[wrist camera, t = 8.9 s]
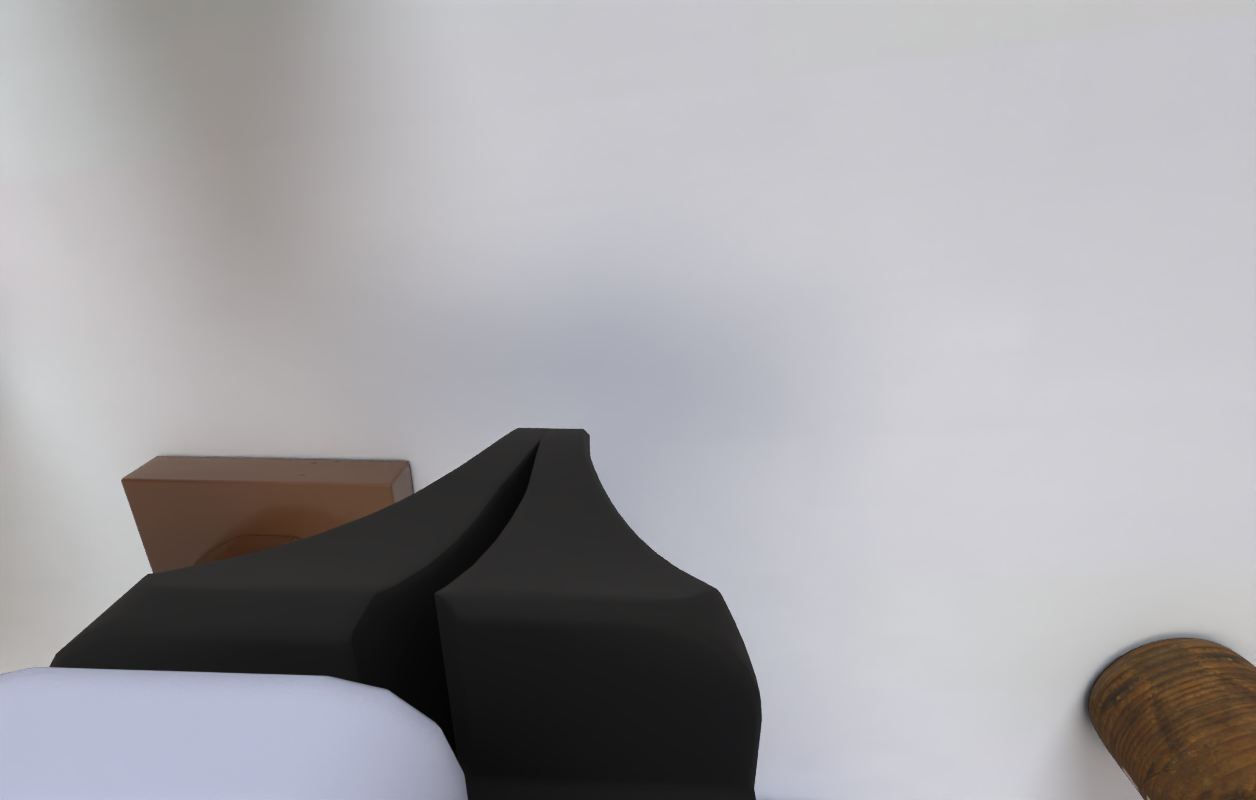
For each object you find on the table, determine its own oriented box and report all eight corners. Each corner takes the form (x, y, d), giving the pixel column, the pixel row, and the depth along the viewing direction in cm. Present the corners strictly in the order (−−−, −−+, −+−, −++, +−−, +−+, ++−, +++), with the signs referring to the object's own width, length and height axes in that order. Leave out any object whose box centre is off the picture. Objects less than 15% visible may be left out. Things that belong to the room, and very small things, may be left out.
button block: (443, 696, 26) (414, 775, 23) (230, 689, 26) (171, 766, 23) (409, 460, 22) (367, 515, 19) (156, 454, 22) (72, 508, 19)
